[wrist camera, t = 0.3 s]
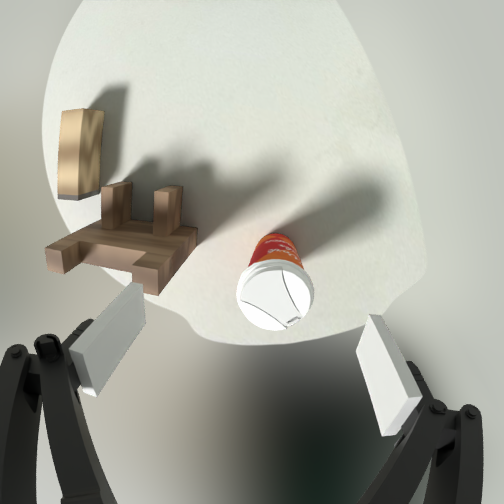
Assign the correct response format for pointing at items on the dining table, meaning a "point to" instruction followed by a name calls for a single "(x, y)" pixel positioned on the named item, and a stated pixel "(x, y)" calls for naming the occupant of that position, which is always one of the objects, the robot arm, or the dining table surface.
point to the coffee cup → (275, 285)
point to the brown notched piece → (130, 239)
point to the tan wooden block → (79, 153)
